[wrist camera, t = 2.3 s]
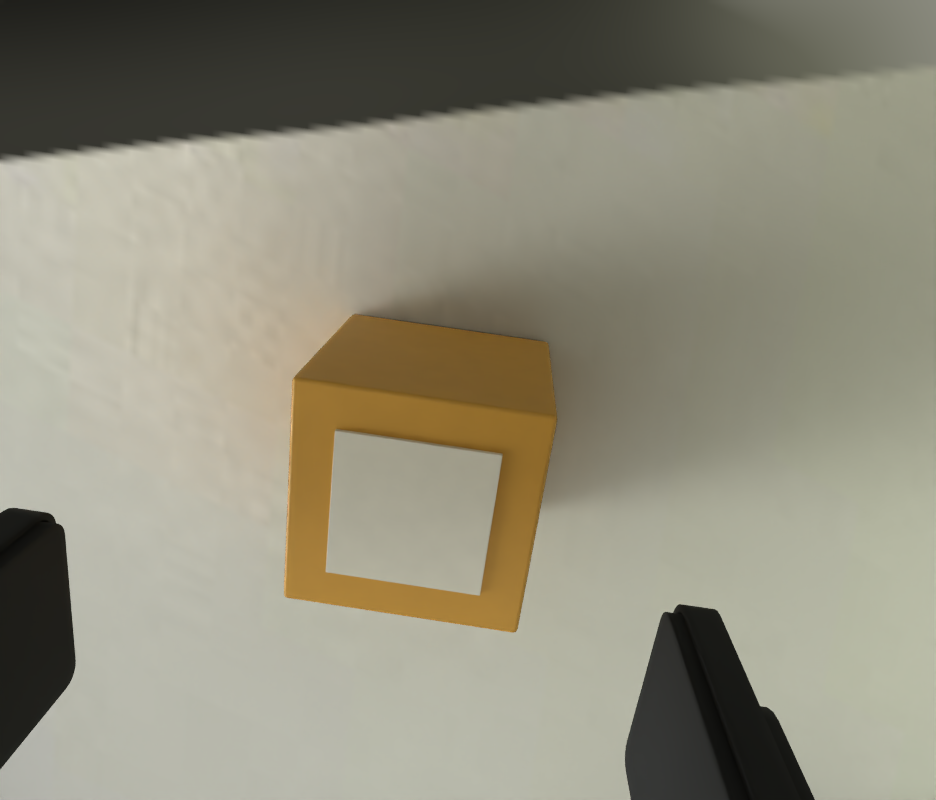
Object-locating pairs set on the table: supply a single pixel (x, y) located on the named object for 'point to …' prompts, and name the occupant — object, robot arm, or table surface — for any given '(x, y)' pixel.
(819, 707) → the table surface
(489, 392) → the ochre block
